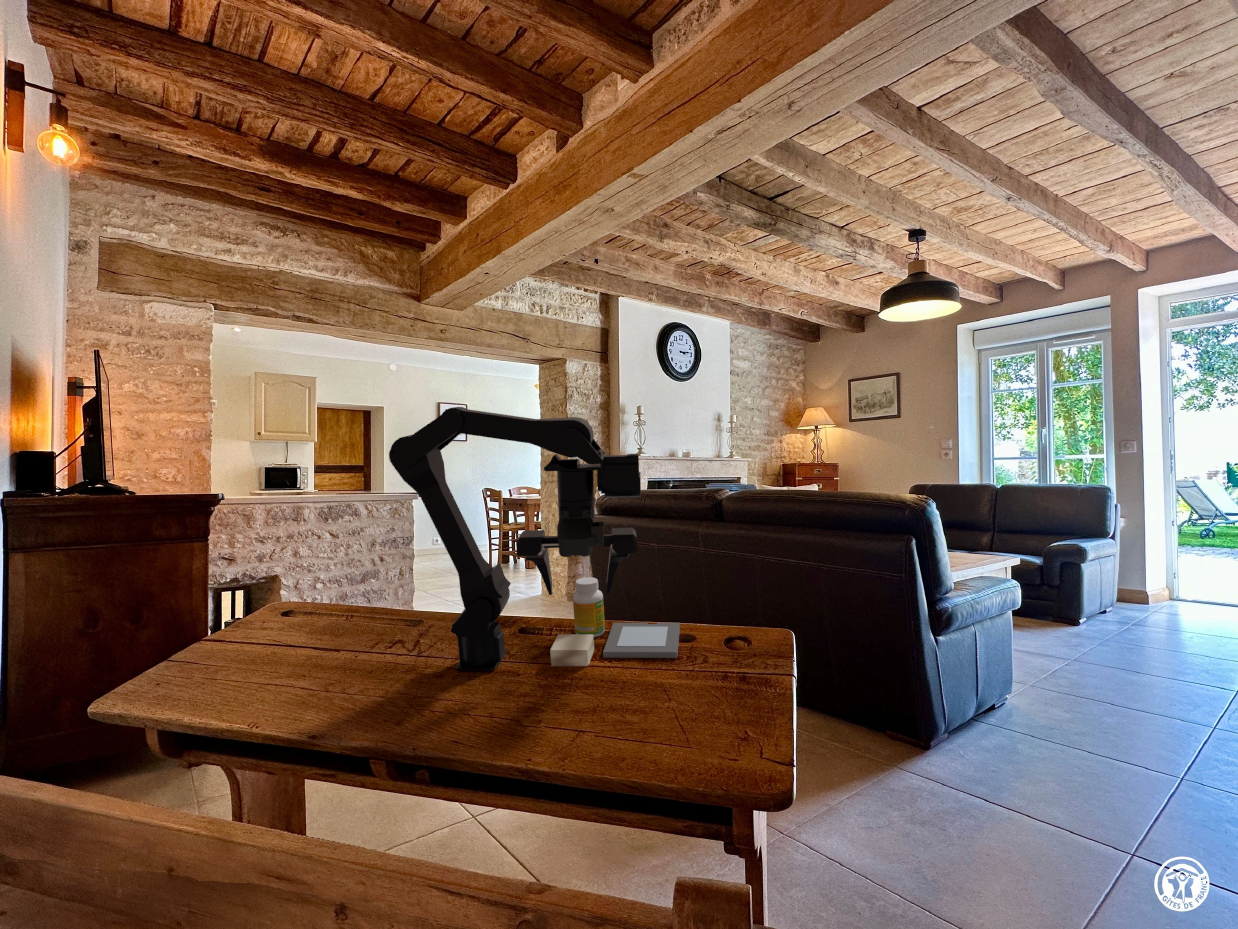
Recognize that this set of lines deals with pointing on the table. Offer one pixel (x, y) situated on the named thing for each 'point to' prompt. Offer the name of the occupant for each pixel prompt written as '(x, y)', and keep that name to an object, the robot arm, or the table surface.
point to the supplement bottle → (588, 607)
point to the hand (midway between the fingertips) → (579, 593)
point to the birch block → (572, 650)
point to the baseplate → (642, 640)
